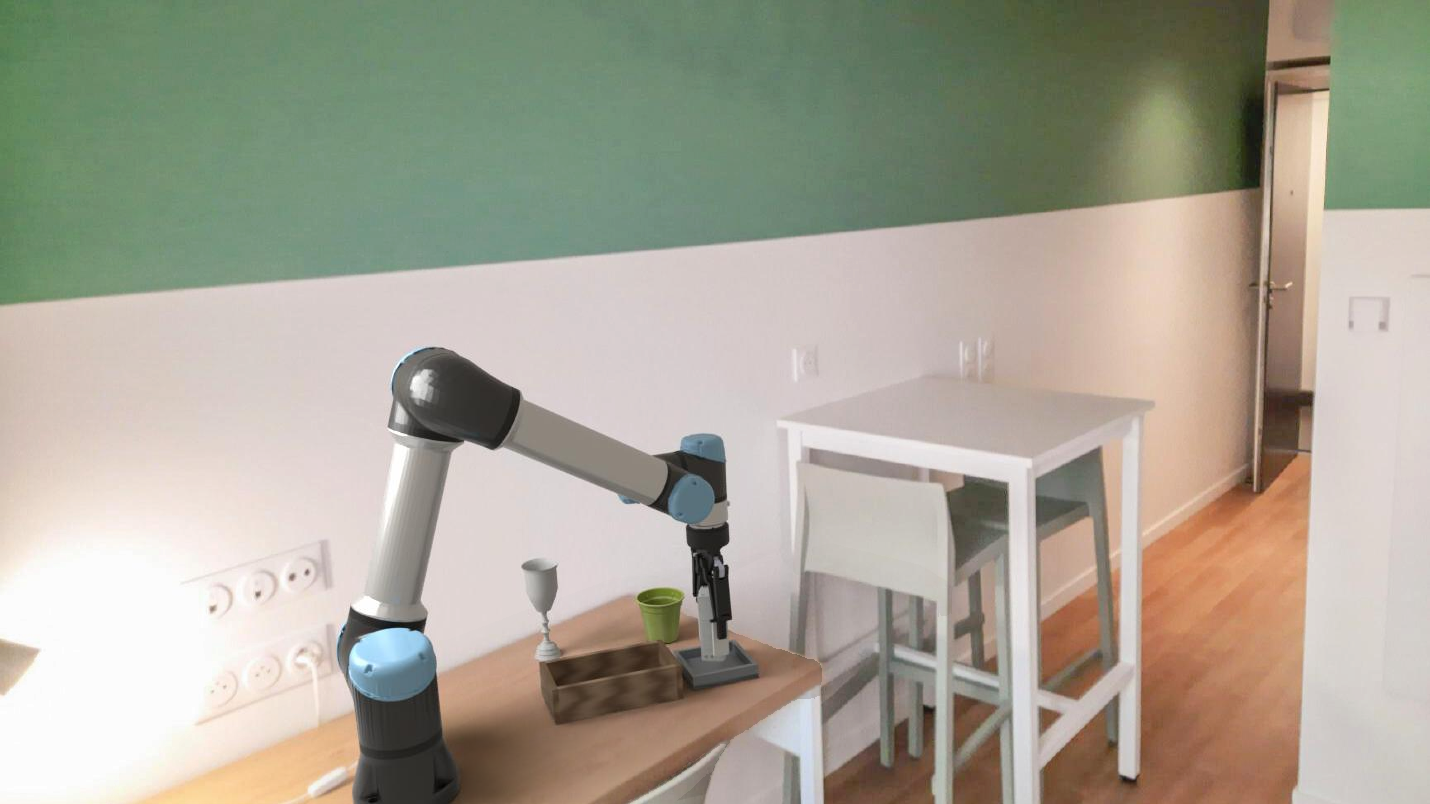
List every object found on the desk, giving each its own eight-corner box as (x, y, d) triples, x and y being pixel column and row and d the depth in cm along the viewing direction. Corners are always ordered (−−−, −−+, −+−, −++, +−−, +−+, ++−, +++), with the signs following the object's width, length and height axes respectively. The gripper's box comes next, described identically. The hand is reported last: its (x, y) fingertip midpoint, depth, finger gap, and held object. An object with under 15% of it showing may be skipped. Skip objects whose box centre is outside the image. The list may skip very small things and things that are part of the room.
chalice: (558, 664, 200) (550, 571, 196) (523, 662, 201) (515, 570, 198) (571, 647, 207) (564, 557, 203) (537, 646, 208) (529, 557, 205)
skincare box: (725, 662, 190) (722, 597, 188) (700, 662, 190) (696, 597, 188) (728, 646, 196) (725, 583, 194) (703, 647, 196) (700, 584, 194)
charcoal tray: (693, 690, 186) (693, 677, 186) (673, 663, 197) (672, 650, 197) (758, 677, 190) (758, 664, 190) (735, 651, 201) (734, 639, 201)
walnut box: (554, 724, 177) (552, 690, 176) (541, 694, 188) (539, 661, 187) (683, 698, 184) (681, 665, 182) (663, 670, 195) (661, 639, 194)
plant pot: (696, 633, 210) (693, 591, 209) (668, 652, 203) (666, 608, 201) (656, 625, 215) (654, 584, 214) (628, 643, 208) (625, 600, 206)
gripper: (747, 535, 180) (753, 664, 185) (709, 505, 199) (715, 623, 203) (704, 541, 178) (712, 672, 182) (669, 511, 197) (677, 630, 201)
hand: (714, 646), depth 193 cm, fingers closed on skincare box, 7 cm apart
